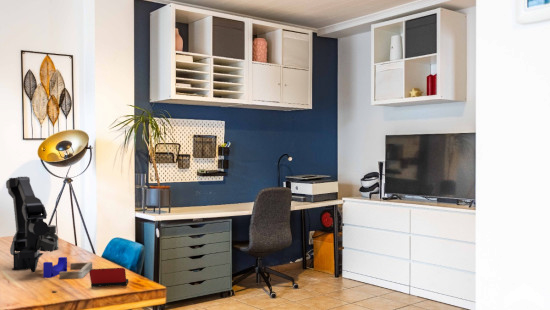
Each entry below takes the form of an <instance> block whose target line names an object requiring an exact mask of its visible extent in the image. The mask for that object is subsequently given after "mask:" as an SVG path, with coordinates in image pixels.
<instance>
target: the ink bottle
mask: <svg viewBox="0 0 550 310" xmlns="http://www.w3.org/2000/svg"><path fill="white" fill-rule="evenodd" d="M47 225H48V232H47V233H46V234H45V235H43V239H48V240H49V239H50V238H55V241H56V242H57V243H56V244H57V245H56V246H55V249H54V251H56V250H58V249H59V235H57V234H56V233H57V232H56V231H57V225H54V224H53V225H52V224H47ZM41 251H42V252H45V251H44V250H41ZM46 252H49V251H48V250H47V251H46Z"/></svg>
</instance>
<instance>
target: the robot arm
mask: <svg viewBox="0 0 550 310" xmlns="http://www.w3.org/2000/svg"><path fill="white" fill-rule="evenodd" d="M5 186H6V189H7V192H8V195H9V196H10V197H11V198H12V200H13V202H12V203H13V211H14V213H13V214H14V221H15V231H16V232H15V234H13V237H12V241H11V245H10V248H9V251H10V252H9V253H10V255H11V256H13V257H12V258H13V267H12V269H11V270H12V271H13V270H14V271H16V270H30V271H31V272H32V273H36V270H37V267H38V263H39V260H40V258H41V257H42V256H43V255H44V254H45V253H43V252H50V253H51V252H53V251H55V250H54V249H55V246H56V245H57V244H56V243H57V242H56V241H55V238H50V239H49V240H48V239H43V235H45V234H46V233H47V232H48V225H49V224H47V222H45V221H44V220H46V219H47V216H48V214H47V210H46V207H45V205H44V204H43V202H42V200H41V199H40V198H39V197H37V196H36V195H35V193H34V190H33V188H32V185H31V179H30V176H29V177H28V176H17V177H9V178H8V179H7V180H6V182H5ZM42 250H44V251H43V252H41V251H42ZM47 250H48V251H47Z"/></svg>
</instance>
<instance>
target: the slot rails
mask: <svg viewBox="0 0 550 310" xmlns="http://www.w3.org/2000/svg"><path fill="white" fill-rule="evenodd" d="M69 265H70V271H68V270H67V272H59V275H58V276H59V280H68V279H69V280H70V279H71V280H72V279H73V280H74V279H83V278H85V276H86V275H87V274H88V273H89V271H90V270H91V269H93V262H71V263H70V264H69Z"/></svg>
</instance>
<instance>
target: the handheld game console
mask: <svg viewBox="0 0 550 310" xmlns="http://www.w3.org/2000/svg"><path fill="white" fill-rule="evenodd" d="M88 273H89V277H90V278H89V279H90V287H91V288H97V287H98V288H99V287H124V286H127V284H128V282H129V279H128V278H127V275H126V274H127V273H126V269H125V268H124V267H111V268H110V267H109V268H92V269H91V270H90V271H89V272H88Z"/></svg>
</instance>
